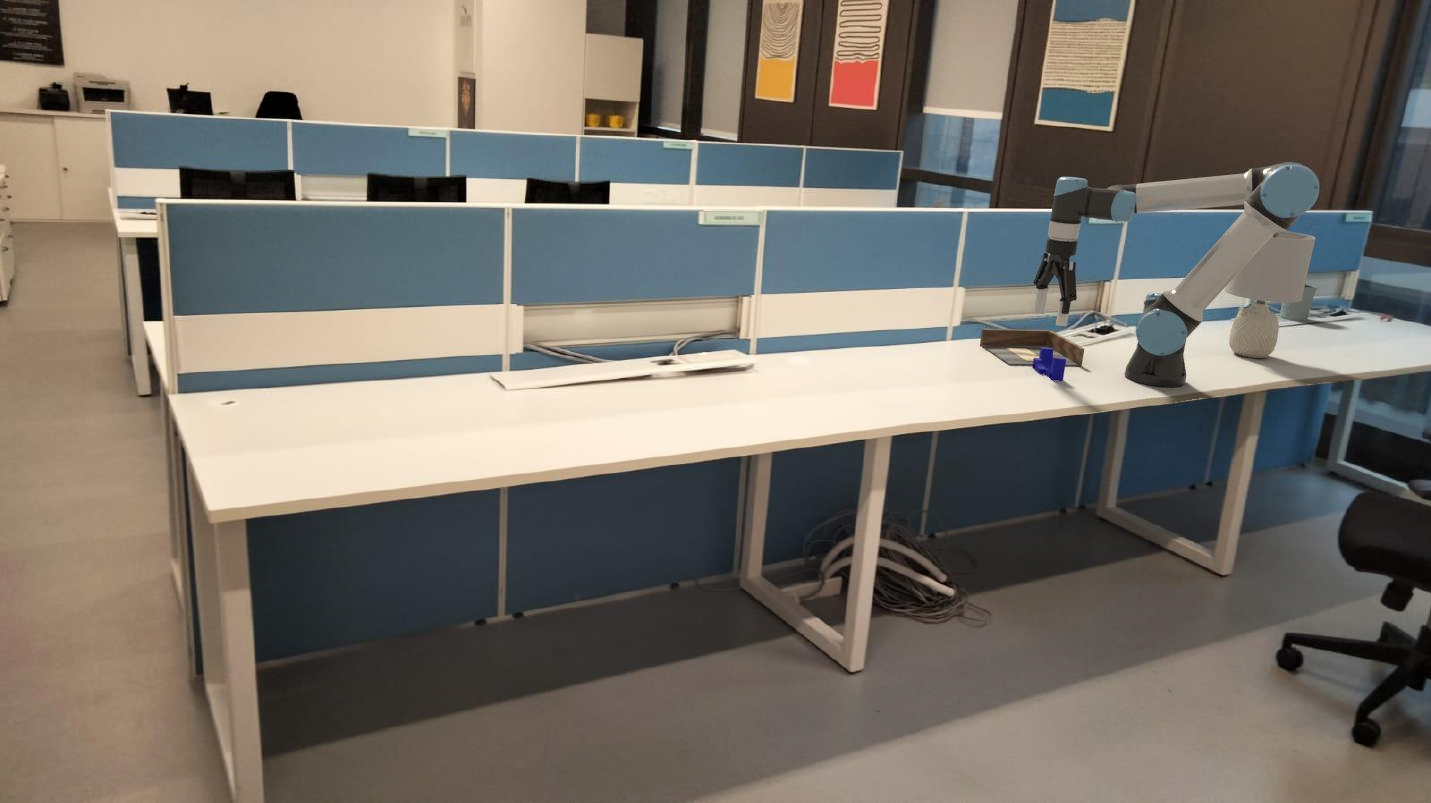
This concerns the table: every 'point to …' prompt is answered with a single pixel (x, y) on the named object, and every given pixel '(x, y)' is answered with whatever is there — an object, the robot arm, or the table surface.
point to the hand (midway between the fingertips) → (1049, 319)
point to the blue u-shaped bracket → (1049, 364)
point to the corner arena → (1029, 346)
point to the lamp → (1268, 290)
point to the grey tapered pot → (1299, 305)
